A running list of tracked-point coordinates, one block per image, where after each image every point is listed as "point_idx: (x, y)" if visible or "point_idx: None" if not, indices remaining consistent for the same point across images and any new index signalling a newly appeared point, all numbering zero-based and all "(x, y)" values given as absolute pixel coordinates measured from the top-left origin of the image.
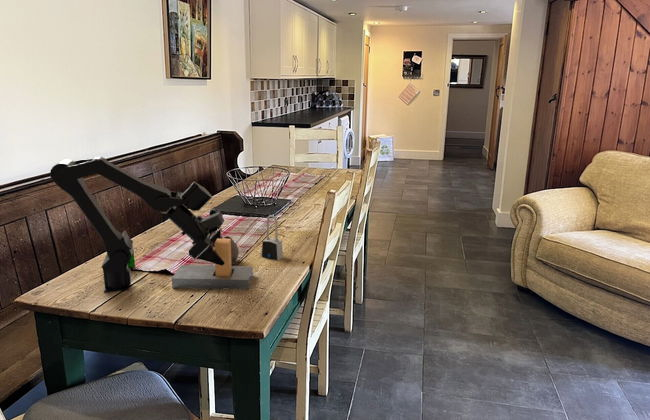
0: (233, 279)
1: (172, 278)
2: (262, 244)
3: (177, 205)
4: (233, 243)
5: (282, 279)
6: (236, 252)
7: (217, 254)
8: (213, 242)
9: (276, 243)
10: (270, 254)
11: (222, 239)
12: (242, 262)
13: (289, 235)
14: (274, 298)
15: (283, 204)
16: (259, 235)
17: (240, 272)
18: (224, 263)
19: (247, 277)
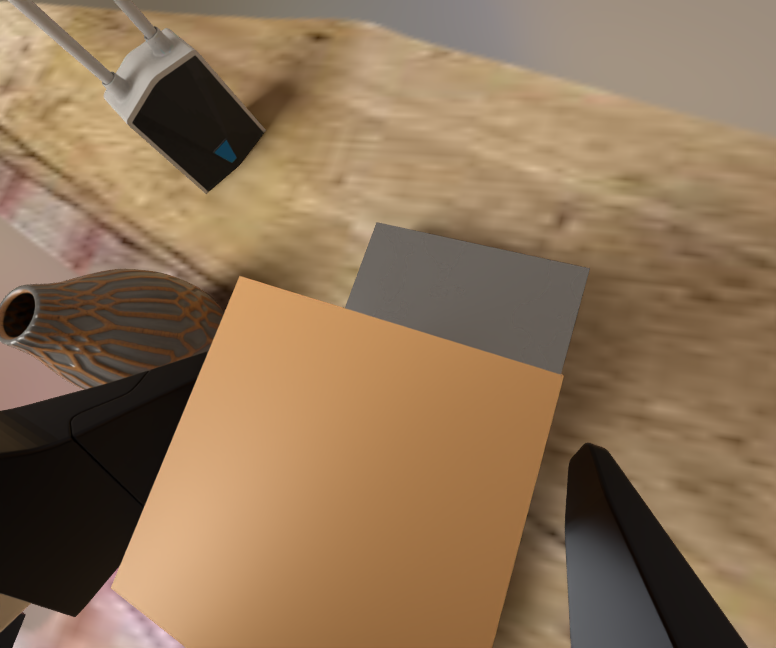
0: (562, 362)
1: None
2: (149, 140)
3: None
4: (106, 284)
5: (473, 122)
6: (184, 287)
7: (697, 639)
8: (109, 525)
9: (191, 49)
10: (225, 140)
11: (217, 472)
12: (230, 278)
13: (68, 82)
14: (717, 170)
15: None
16: (19, 184)
17: (448, 301)
18: (601, 447)
19: (543, 268)
